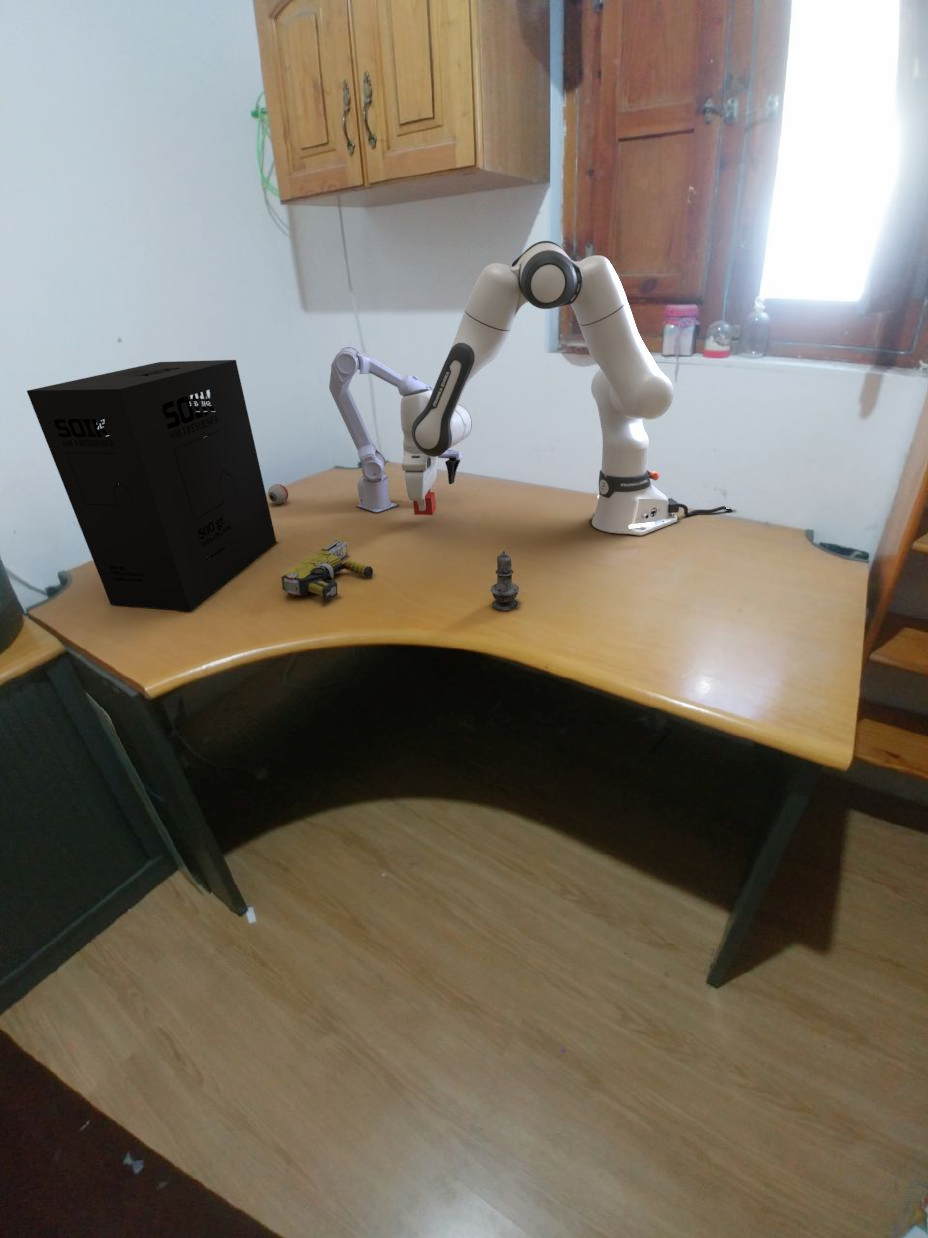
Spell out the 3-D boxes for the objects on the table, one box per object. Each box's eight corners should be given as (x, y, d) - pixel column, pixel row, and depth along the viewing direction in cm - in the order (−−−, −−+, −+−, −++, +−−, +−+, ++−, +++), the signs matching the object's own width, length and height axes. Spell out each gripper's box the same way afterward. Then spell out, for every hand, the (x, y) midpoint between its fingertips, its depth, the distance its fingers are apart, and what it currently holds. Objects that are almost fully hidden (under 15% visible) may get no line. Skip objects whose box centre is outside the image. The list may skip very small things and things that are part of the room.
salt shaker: (517, 611, 121) (517, 557, 115) (488, 610, 122) (486, 556, 116) (521, 598, 126) (520, 545, 120) (493, 596, 127) (491, 544, 121)
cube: (418, 508, 168) (416, 491, 165) (436, 508, 167) (434, 492, 165) (414, 514, 164) (412, 497, 161) (432, 514, 163) (431, 497, 160)
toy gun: (389, 548, 145) (334, 537, 149) (339, 588, 125) (277, 575, 129) (389, 566, 147) (335, 555, 151) (340, 608, 127) (279, 595, 131)
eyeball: (265, 505, 187) (261, 487, 184) (278, 499, 192) (274, 480, 189) (281, 507, 185) (277, 488, 182) (293, 500, 190) (290, 482, 187)
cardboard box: (190, 611, 129) (119, 389, 106) (110, 604, 133) (26, 390, 111) (276, 542, 160) (235, 359, 138) (209, 539, 165) (159, 361, 142)
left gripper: (407, 437, 172) (412, 483, 178) (453, 440, 166) (455, 488, 173) (420, 431, 177) (423, 476, 184) (464, 434, 171) (466, 481, 178)
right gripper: (417, 445, 167) (421, 493, 174) (399, 466, 149) (405, 518, 156) (440, 445, 166) (443, 493, 173) (424, 466, 148) (428, 519, 155)
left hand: (440, 481), depth 179 cm, fingers open, 7 cm apart
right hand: (425, 505), depth 164 cm, fingers closed on cube, 5 cm apart
